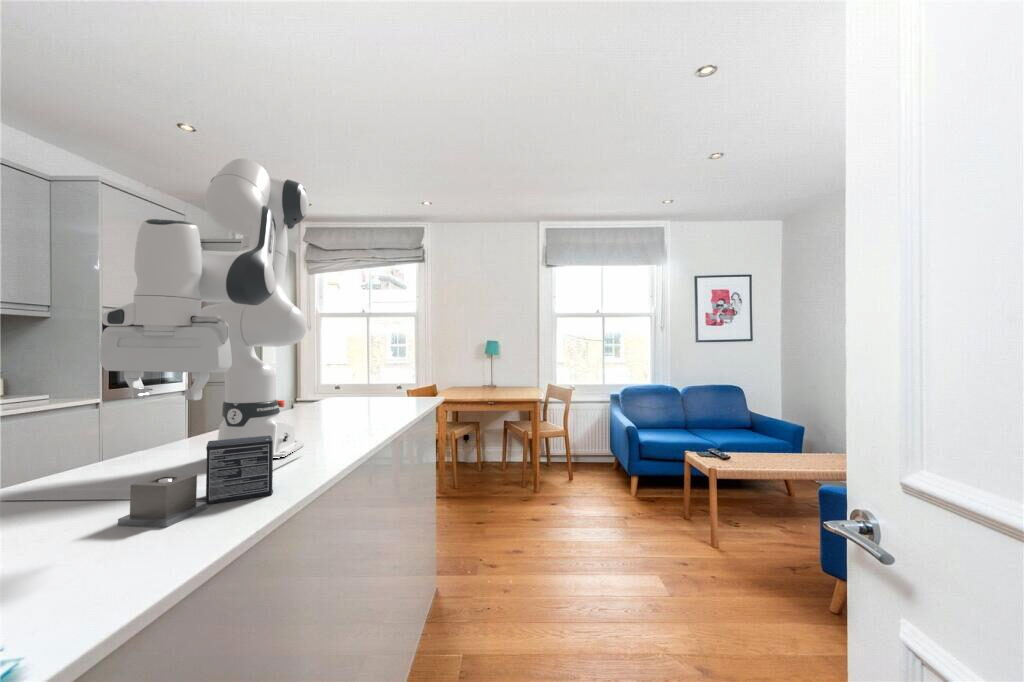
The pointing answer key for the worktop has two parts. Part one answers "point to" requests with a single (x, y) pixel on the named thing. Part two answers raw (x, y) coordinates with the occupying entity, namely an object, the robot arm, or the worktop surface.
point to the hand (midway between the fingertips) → (166, 399)
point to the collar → (163, 496)
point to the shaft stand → (162, 521)
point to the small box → (239, 469)
